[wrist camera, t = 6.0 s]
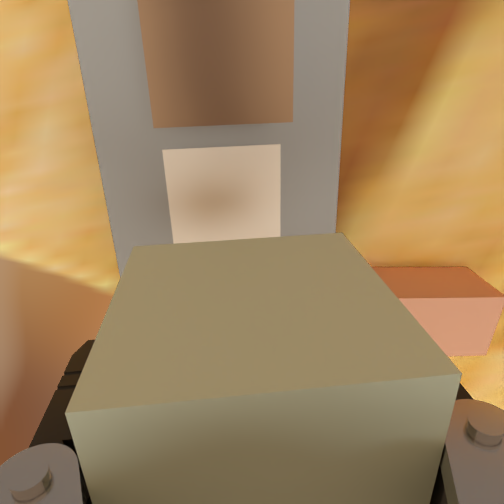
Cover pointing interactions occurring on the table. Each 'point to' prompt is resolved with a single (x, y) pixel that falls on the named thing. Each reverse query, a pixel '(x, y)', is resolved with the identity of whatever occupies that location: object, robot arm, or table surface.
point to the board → (212, 140)
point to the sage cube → (260, 380)
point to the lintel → (448, 305)
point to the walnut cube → (218, 61)
